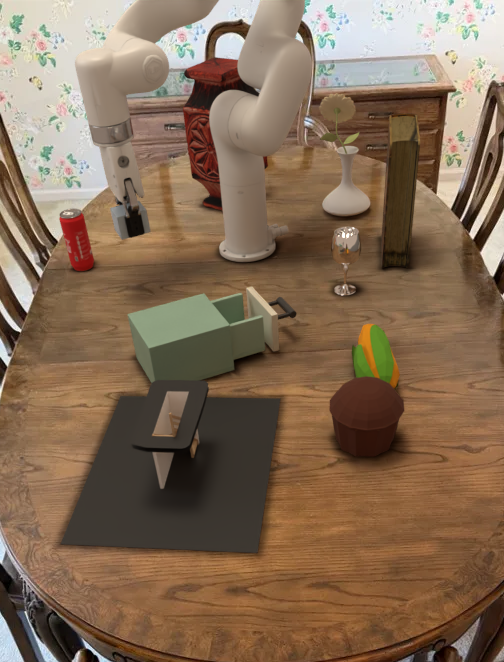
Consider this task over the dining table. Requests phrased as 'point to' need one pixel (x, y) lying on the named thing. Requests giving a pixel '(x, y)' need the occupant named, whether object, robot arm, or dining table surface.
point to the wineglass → (345, 254)
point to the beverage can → (76, 239)
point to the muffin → (366, 415)
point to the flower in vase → (343, 160)
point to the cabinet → (182, 340)
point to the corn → (375, 356)
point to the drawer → (252, 321)
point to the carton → (119, 220)
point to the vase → (201, 149)
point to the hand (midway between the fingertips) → (132, 228)
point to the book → (400, 188)
